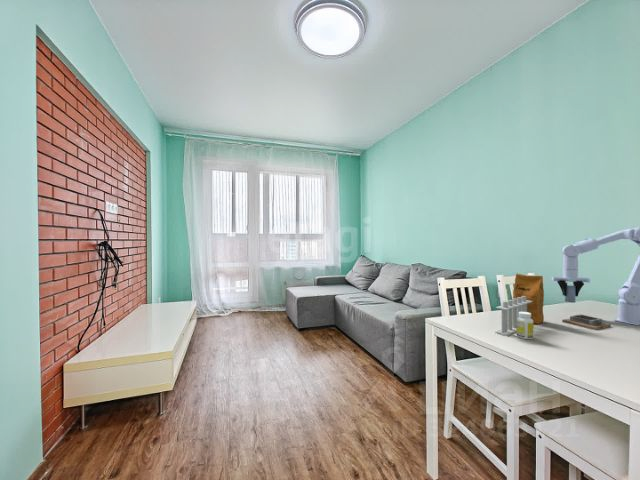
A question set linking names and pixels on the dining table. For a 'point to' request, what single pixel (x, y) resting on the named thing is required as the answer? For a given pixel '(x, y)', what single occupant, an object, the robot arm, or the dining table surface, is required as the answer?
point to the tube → (570, 294)
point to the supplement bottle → (525, 325)
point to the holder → (586, 322)
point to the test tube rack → (511, 314)
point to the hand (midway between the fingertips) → (570, 295)
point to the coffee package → (531, 294)
